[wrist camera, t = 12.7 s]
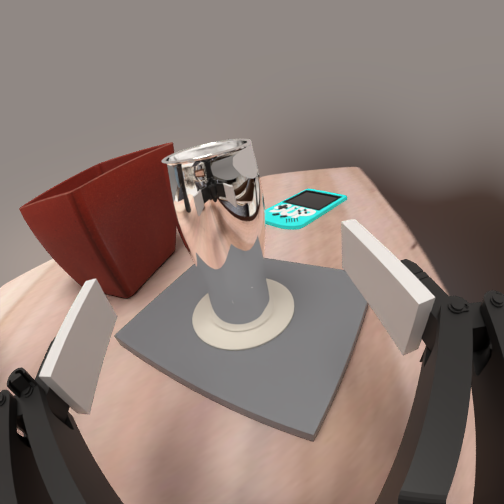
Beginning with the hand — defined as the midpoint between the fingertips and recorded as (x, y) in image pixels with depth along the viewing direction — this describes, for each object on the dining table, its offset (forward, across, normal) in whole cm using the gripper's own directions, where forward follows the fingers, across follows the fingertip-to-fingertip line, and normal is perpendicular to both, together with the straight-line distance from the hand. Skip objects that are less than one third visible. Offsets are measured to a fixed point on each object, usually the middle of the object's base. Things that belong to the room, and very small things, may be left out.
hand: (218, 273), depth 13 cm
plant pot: (+25, -18, -12) cm, 33 cm away
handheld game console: (+33, +13, -13) cm, 38 cm away
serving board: (+9, 0, -12) cm, 15 cm away
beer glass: (+8, 0, -10) cm, 13 cm away
